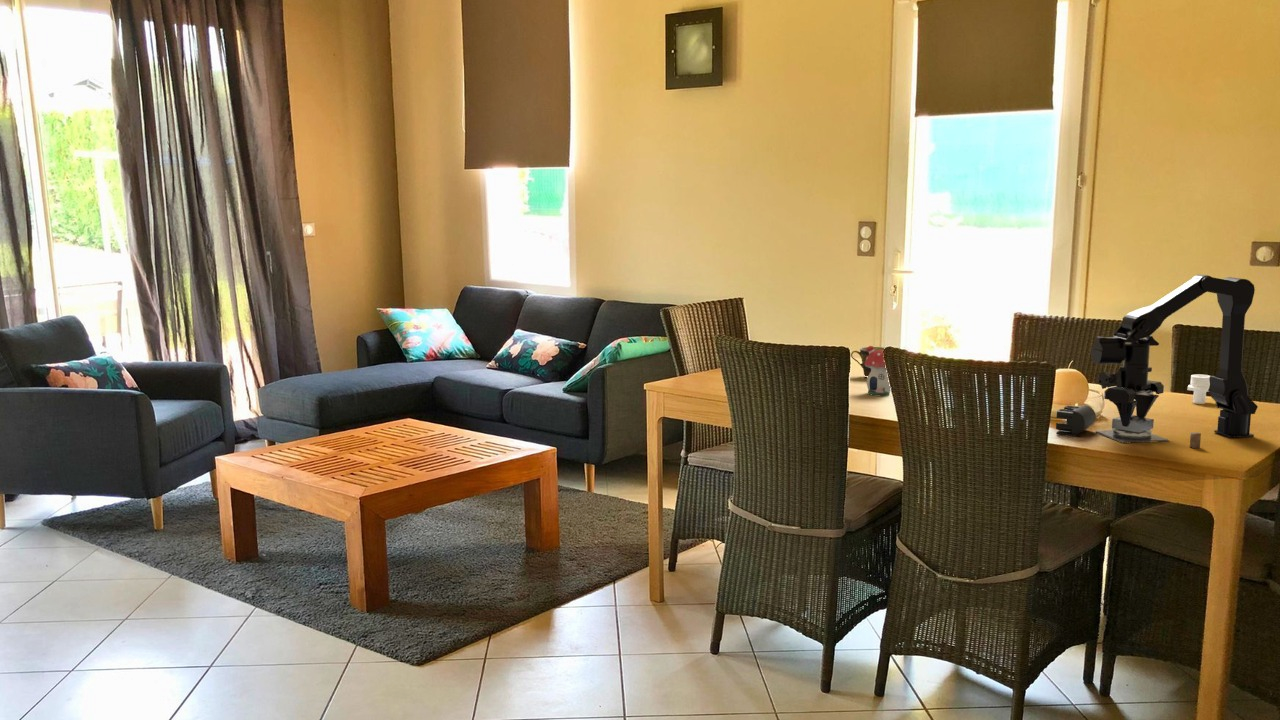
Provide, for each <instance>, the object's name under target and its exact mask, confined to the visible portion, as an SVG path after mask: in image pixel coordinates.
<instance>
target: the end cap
mask: <svg viewBox="0 0 1280 720" xmlns="http://www.w3.org/2000/svg"><path fill="white" fill-rule="evenodd" d="M1055 417H1056V418H1055V419H1063V420H1066V421H1065V422H1062V423H1061V422H1056V423H1055V429H1056V430H1057V431H1056V435H1058V434H1059V435H1060V436H1066V435H1067V437H1076V436H1077V435H1079V434H1081V433H1083V432H1084V431H1086V430H1088V429H1089V428H1090V427H1091V426H1093V425H1094V423H1095V422H1096V418H1097V415H1096V412H1095V410H1094V409H1093V408H1092V407H1091V406H1090V405H1087V404H1083V405H1081V406H1076V405H1065V406H1064V407H1063V408H1060V409H1058V410H1057V411H1056V416H1055Z"/></svg>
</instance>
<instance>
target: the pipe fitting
mask: <svg viewBox="0 0 1280 720" xmlns="http://www.w3.org/2000/svg"><path fill="white" fill-rule="evenodd" d="M1210 376H1211V375H1208V374H1198V373H1197V374H1191V375H1190V384H1188V386H1187V391H1192V392H1193V397H1192V402H1193V403H1194V404H1196V405H1197V404H1198V405H1199V404H1200V405H1204V404H1206V400H1207V398H1206V397H1207V392H1208V393H1210V392H1209V391H1208V389H1209V387H1210V381H1209V378H1210Z"/></svg>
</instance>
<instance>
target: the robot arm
mask: <svg viewBox="0 0 1280 720" xmlns="http://www.w3.org/2000/svg"><path fill="white" fill-rule="evenodd" d="M1255 288H1256V287H1255V285H1254V283H1253V282H1252V281H1251V280H1249V279H1245V278H1241V277H1240V278H1238V277H1232V276H1231V277H1230V276H1229V277H1225V278H1223V279H1222V278H1218V277H1214V276H1213V277H1212V276H1210V275H1206V274H1196V275H1194V276H1193V277H1191V279H1189V280H1188V281H1186V282H1185V283H1183V284H1181V285H1180V286H1179V287H1177V288H1176V289H1174V290H1173V291H1171V292H1170V293H1168V294H1166V295H1165V296H1164V297H1161V298H1160V299H1159V300H1158V301H1156V302H1154V303H1152V304H1150V305H1147V306H1143V307H1140V308H1137V309H1135V310H1133V311H1130V312H1128V313H1126V315H1124V316H1123V317H1122V321H1121V324H1119V326H1118V328H1117V329H1116V330H1115V331H1114V333H1113V334H1112V335H1111V337H1110V336H1108V337H1107V336H1096V337H1095V342H1093V345H1092V347H1091V349H1090V356H1091V360H1092V362H1093V363H1094V365H1110V364H1111V365H1112V364H1113V365H1114V364H1115V365H1117V364H1121V363H1122V362H1123V363H1122V366H1119V368H1118V370H1117V371H1118V372H1115V373H1109V371H1103V372H1099V373H1098V377H1097V380H1096V383H1097V384H1098V385H1099V386H1100V387H1101V389H1102V390H1104V389H1105V390H1104V392H1103V393H1104V394H1103V397H1104V398H1103V399H1104V400H1108V401H1109V402H1110V403H1113V404H1114V405H1115V406H1116V408H1117V411H1118V415H1119V417H1120V418H1121V422H1122V425H1123V426H1125V427H1127V426H1128V424H1129V422H1130V419H1131V417H1132V415H1134V411H1135V410H1136V411H1135V413H1136V416H1138V417H1143V418H1146V416H1147V414H1148V412H1149V411H1150V410H1151V408H1152V407H1153V405H1154V403H1155V402H1156V400H1157V399H1158V398H1159V396H1160V395H1161V394H1164V391H1165V390H1164V388H1165V385H1164V384H1163V383H1162V382H1161V381H1154V380H1149V373H1151V372H1152V371H1153V367H1150V366H1149V363H1150V362H1149V361H1150V349H1151V348H1150V347H1152V346H1153V347H1154V346H1157V347H1158V346H1160V343H1159V342H1158V341H1157V340H1156V339H1155V338H1154V337H1153V334H1154V333H1155V332H1156V331H1157V330H1158V329H1159V328H1160V327H1161V326H1162V325H1163V323H1164V322H1165V320H1166V319H1167V318H1168V317H1170V316H1172V315H1173V314H1174V313H1176V312H1178V311H1180V310H1181V309H1182V308H1183V307H1186V306H1187V305H1189V304H1190V303H1191V302H1193V301H1195V300H1196V299H1198V298H1199V297H1201V296H1203V295H1204V294H1205V293H1212V294H1216V297H1217V303H1218V305H1219V308H1220V310H1221V312H1222V322H1221V339H1220V354H1219V355H1220V357H1219V369H1218V372H1217V373H1216V375H1215V376H1214V375H1209V376H1210V378H1209V381H1210V387H1209V389H1208V391H1209V392H1208V393H1210V398H1211V399H1213V401H1214V402H1215V404H1216V408H1217V409H1220V410H1219V415H1218V417H1217V429H1214V430H1213V431H1214V432H1213V433H1214V434H1215V433H1216V434H1218V435H1221V436H1225V437H1229V438H1230V439H1231V438H1253V437H1255V434H1253V433H1251V432H1250V430H1251V429H1250V428H1251V422H1252V421H1251V417H1252V416H1251V415H1255V414H1256V412H1257V410H1258V408H1259V407H1258V405H1257V403H1255V402H1254V401H1253V400H1252V399H1251V397H1249V391H1248V390H1249V389H1248V384H1247V380H1246V378H1245V376H1244V373H1243V355H1244V353H1243V352H1244V340H1245V339H1244V337H1245V321H1246V313H1247V312H1248V311H1249V309H1250V308H1251V306H1252V304H1253V301H1254V296H1255V291H1256V289H1255ZM1154 393H1155V394H1154Z"/></svg>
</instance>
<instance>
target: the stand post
mask: <svg viewBox="0 0 1280 720" xmlns="http://www.w3.org/2000/svg"><path fill="white" fill-rule="evenodd" d="M1201 437H1202V433H1201V432H1195V431H1193V432H1190V435H1189V438H1190V439H1189V448H1190V447H1192V448H1191V449H1196V448H1198V449H1200V448H1201V440H1202V439H1201Z"/></svg>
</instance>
